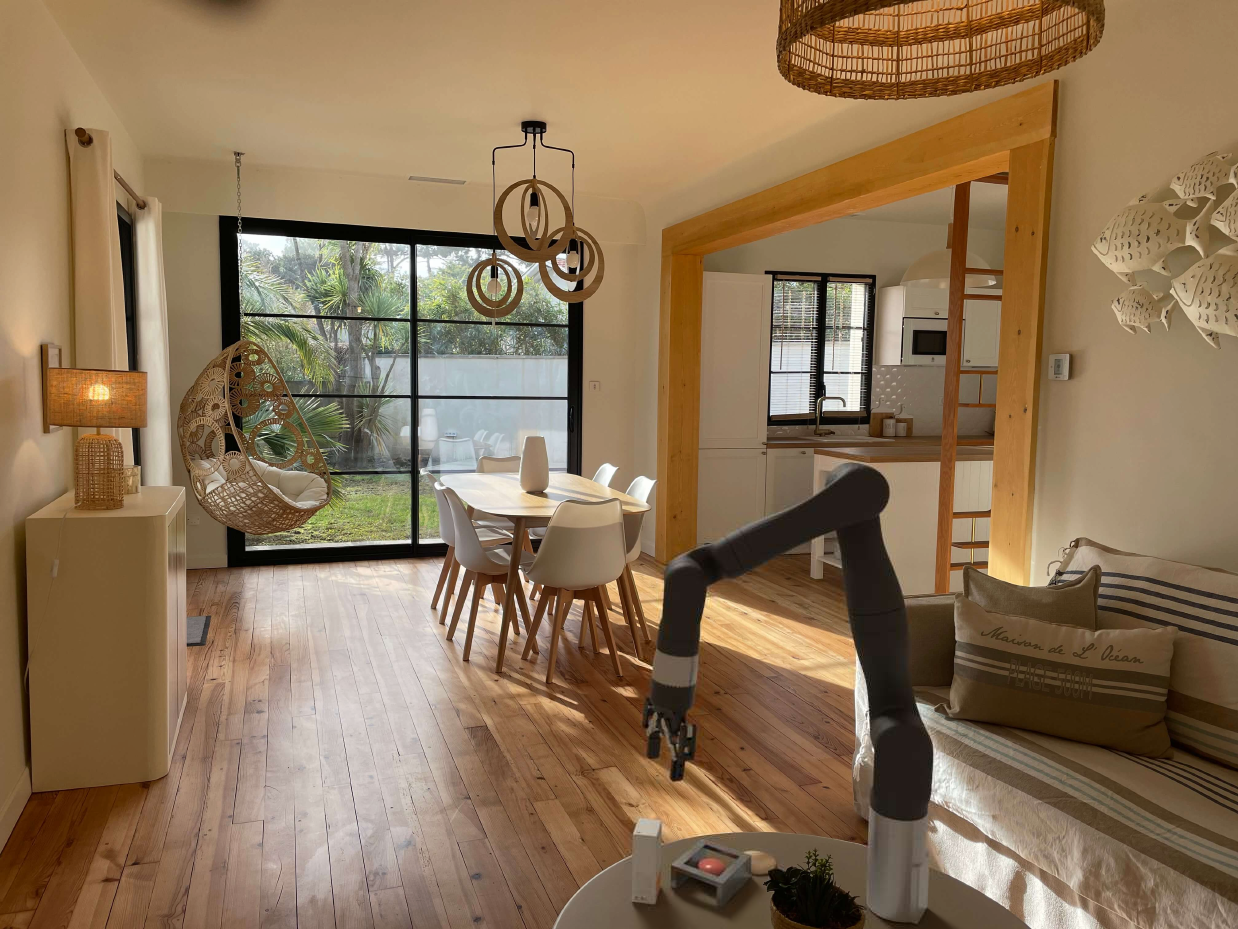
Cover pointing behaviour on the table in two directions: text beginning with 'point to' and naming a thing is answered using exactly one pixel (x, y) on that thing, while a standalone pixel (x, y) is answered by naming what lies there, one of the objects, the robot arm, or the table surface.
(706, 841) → the grey square frame
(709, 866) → the button
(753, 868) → the coaster
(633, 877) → the skincare box
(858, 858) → the table surface
